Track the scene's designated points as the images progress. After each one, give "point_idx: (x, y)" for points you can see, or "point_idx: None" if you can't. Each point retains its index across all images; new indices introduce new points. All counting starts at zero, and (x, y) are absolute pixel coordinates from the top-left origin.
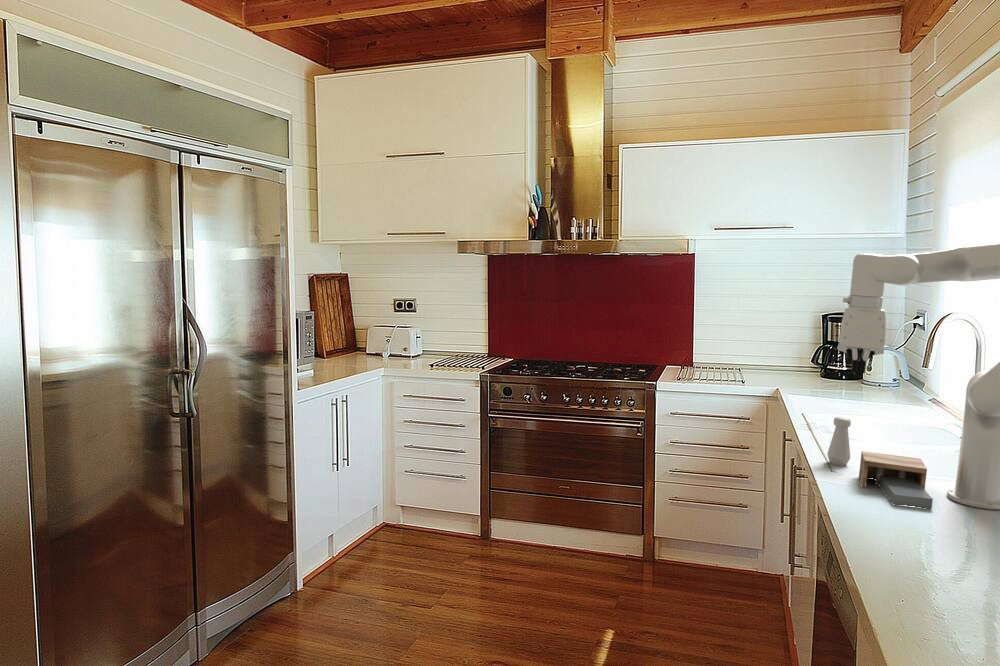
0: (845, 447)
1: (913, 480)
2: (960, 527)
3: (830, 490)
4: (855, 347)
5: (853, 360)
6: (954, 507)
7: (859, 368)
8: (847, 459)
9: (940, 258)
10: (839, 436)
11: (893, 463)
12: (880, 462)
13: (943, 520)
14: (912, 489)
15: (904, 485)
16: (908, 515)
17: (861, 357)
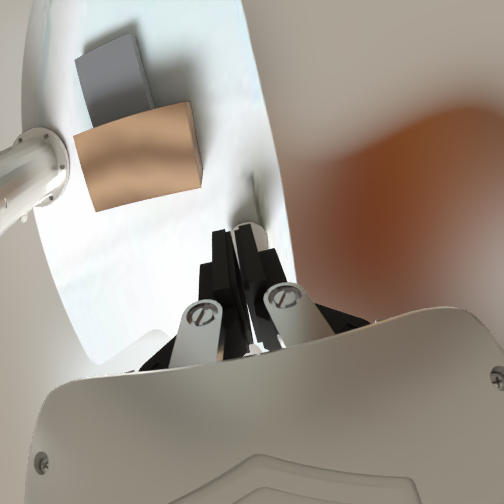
0: None
1: None
2: (55, 16)
3: (241, 45)
4: (329, 338)
5: (288, 290)
6: (56, 104)
7: (233, 258)
8: (231, 231)
9: None
10: None
11: (128, 125)
12: (153, 112)
13: (71, 25)
14: (103, 89)
15: (116, 105)
16: (114, 5)
17: (237, 337)
